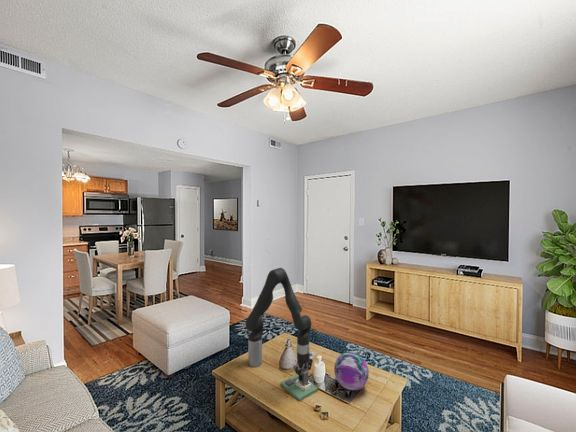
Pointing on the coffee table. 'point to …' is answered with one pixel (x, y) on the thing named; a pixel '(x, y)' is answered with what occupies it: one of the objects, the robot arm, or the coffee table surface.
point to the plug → (304, 376)
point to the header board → (298, 387)
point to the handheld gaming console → (311, 355)
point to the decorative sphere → (351, 371)
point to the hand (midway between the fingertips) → (303, 378)
